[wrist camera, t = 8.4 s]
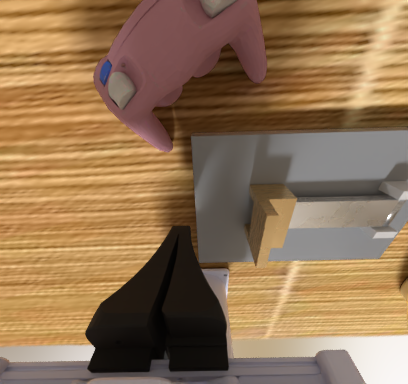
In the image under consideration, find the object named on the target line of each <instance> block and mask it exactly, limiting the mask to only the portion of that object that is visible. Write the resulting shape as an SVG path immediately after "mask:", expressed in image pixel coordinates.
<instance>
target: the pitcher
mask: <svg viewBox="0 0 408 384" xmlns="http://www.w3.org/2000/svg"><path fill="white" fill-rule="evenodd" d="M400 293H401V295H402V297H403V298H404V299H405V301H406V302H407V304H408V278H407V279H406V280H405V281H404V283H403V284H402V286H401V289H400ZM407 326H408V309H407Z"/></svg>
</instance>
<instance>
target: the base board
mask: <svg viewBox="0 0 408 384" xmlns="http://www.w3.org/2000/svg"><path fill="white" fill-rule="evenodd" d="M191 143H192V159H193V175H194V191H195V207H196V223H197V238H198V254H199V263H212V262H254V260H253V257H252V253H251V250H250V247H249V244H248V241H247V238H246V234H245V231H244V227H245V224H251V218H252V212H253V205H254V202H253V200H252V198H251V196H250V194H249V187H250V185H257V184H284V185H285V186H286V187H287V188H288V189H289V190H290V191H291V192H292V193H293V195H294V196H295V197H337V196H381V195H390V196H392V197H394V198H396V199H398V200H406V202H405V203H404V205H403V206H402V207H401V209H400V210H399V212H398V213H397V215H396V216H395V217H394V219H393V220H392V222H391V223H390V225H389V226H388V227H341V228H291V229H288V231H287V234H286V238H285V241H284V244H283V248H271V250H270V254H269V258H268V261H298V260H341V259H379V258H380V257H381V255H382V254H383V253H384V251H385V250H386V249H387V247H388V246H389V245H390V243H391V242H392V241H393V239H394V238H395V237H396V236H397V234H398V233H399V232H400V230H401V229H402V228H403V226H404V225H405V224H406V222H407V221H408V127H382V128H347V129H312V130H277V131H242V132H208V133H192V135H191Z"/></svg>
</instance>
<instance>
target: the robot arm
mask: <svg viewBox="0 0 408 384" xmlns="http://www.w3.org/2000/svg"><path fill="white" fill-rule="evenodd" d="M228 280H229V270H228V269H226V268H221V269H201V268H200V265H199V263H198V261H197V258H196V255H195V252H194V249H193V246H192V242H191V231H190V226H173V227H172V228H171V230H170V232H169V234H168V235H167V237H166V238H165V240H164V241H163V243H162V244H161V246H160V247H159V249H158V250H157V251H156V252H155V254H154V255H153V256H152V257H151V259H150V260H149V261H148V262H147V263H146V264H145V265H144V267H143V268H142V269H141V270H140V271H139V272H138V273H137V274H136V275H135V276H134V277H133V278H131V279H130V280H129V281H128V282H127V283H126V284H125V285H123V286H122V287H121V288H120V289H119V290H118V291H116V292H115V293H114V294H112V295H111V296H110V297H109V298H107V299H106V300H105V301H103V302H102V303H101V304H100V306H99V307H98V309H97V311H96V312H95V314H94V316H93V318H92V320H91V322H90V324H89V326H88V328H87V330H86V333H85V335H86V337H87V339H88V340H89V341H90V343H91V344H92V345H93V346H94V347H95V348H96V349H95V351H94V354H93V356H92V358H91V360H90V361H61V362H9V360H7V359H5V358H3V357H0V384H366V383H365V382H364V380H363V378H362V376H361V375H360V373H359V371H358V369H357V368H356V366H355V364H354V362H353V361H352V359H351V357H350V355H349V354H348V352H347V351H345V350H323V351H319V352H318V353H317V354H316V356H315V357H283V358H281V357H280V358H234V356H233V348H232V339H231V331H230V323H229V314H228V306H227V292H228Z"/></svg>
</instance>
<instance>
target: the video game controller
mask: <svg viewBox="0 0 408 384" xmlns="http://www.w3.org/2000/svg"><path fill="white" fill-rule="evenodd" d="M226 44H229V45H230V46H231V47H232V48H233V50H234V51H235V53H236V55H237V57H238V59H239V61H240V63H241V65H242V67H243V69H244V71H245V72H246V74H247V75H248V77H249V78H250V79H251V81H253V82H254V83H258V84H259V83H261V82H262V81H263V80H264V78H265V75H266V71H267V59H266V51H265V43H264V37H263V32H262V26H261V21H260V15H259V10H258V4H257V0H143V1H142V2H141V3H140V4H139V5H138V6H137V8H136V9H135V10H134V12H133V13H132V14H131V16H130V17H129V18H128V20H127V21H126V22H125V24H124V25H123V27H122V29H121V30H120V32H119V33H118V35H117V37H116V38H115V40H114V42H113V44H112V46H111V48H110V51H109V53H108V55H106V56H105V57H104V58H103V59H101V60H100V62H99V63H98V65H97V66H96V68H95V72H94V76H93V77H94V84H95V87H96V89H97V91H98V92H99V94H100V96H101V97H102V99H103V101H104V102H105V104H106V106H107V107H108V109H109V110H110V111H111V112H112V113H113V114H114V115H115V116H116V117H117V118H118V119H119V120H120V121H121V122H122V123H124V124H125V125H126V126H127V127H129V128H130V129H131V130H132V131H134V132H135V133H136V134H138V135H139V136H140V137H142V138H143V139H144V140H146V141H147V142H148V143H150V144H151V145H153V146H154V147H155V148H157V149H159V150H161V151H165V152H170V151H171V150H172V149H173V144H172V141H171V139H170V137H169V135H168V133H167V131H166V130H165V128H164V127H163V125H162V124H161V122H160V121H159V120H158V118H157V117H156V116H155V115H154V114H153V112H152V110H153V108H154V107H155V106H159V107H166V106H169V105H171V104H173V103H174V102H175V101H176V100H177V99H178V98H179V96H180V95H181V93H182V90H183V89H182V85H184V84H185V83H186V82H188V80H189V79H190V78H191V77H192V76H194V77H201V76H204V75H206V74H207V73H209V72H210V71H211V70H212V69H213V68H214V67H215V65H216V63H217V62H218V59H219V56H220V52H221V48H222V47H223V46H225V45H226Z"/></svg>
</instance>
